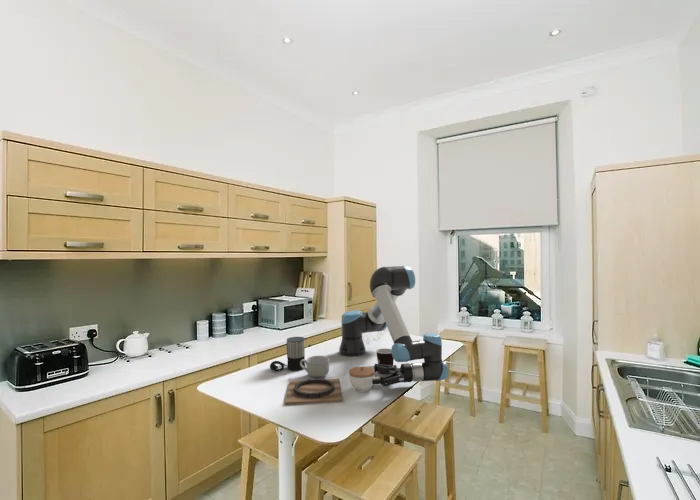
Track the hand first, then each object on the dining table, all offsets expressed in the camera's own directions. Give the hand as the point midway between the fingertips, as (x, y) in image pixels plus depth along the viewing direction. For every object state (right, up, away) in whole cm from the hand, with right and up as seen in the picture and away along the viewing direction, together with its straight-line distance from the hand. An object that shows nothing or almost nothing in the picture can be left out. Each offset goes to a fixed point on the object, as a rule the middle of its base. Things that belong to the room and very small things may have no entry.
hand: (361, 375), depth 144 cm
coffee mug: (+13, -6, +22) cm, 26 cm away
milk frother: (-36, -7, +28) cm, 46 cm away
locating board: (-20, -6, -1) cm, 21 cm away
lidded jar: (0, -6, 0) cm, 6 cm away
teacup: (-21, -7, +18) cm, 28 cm away
